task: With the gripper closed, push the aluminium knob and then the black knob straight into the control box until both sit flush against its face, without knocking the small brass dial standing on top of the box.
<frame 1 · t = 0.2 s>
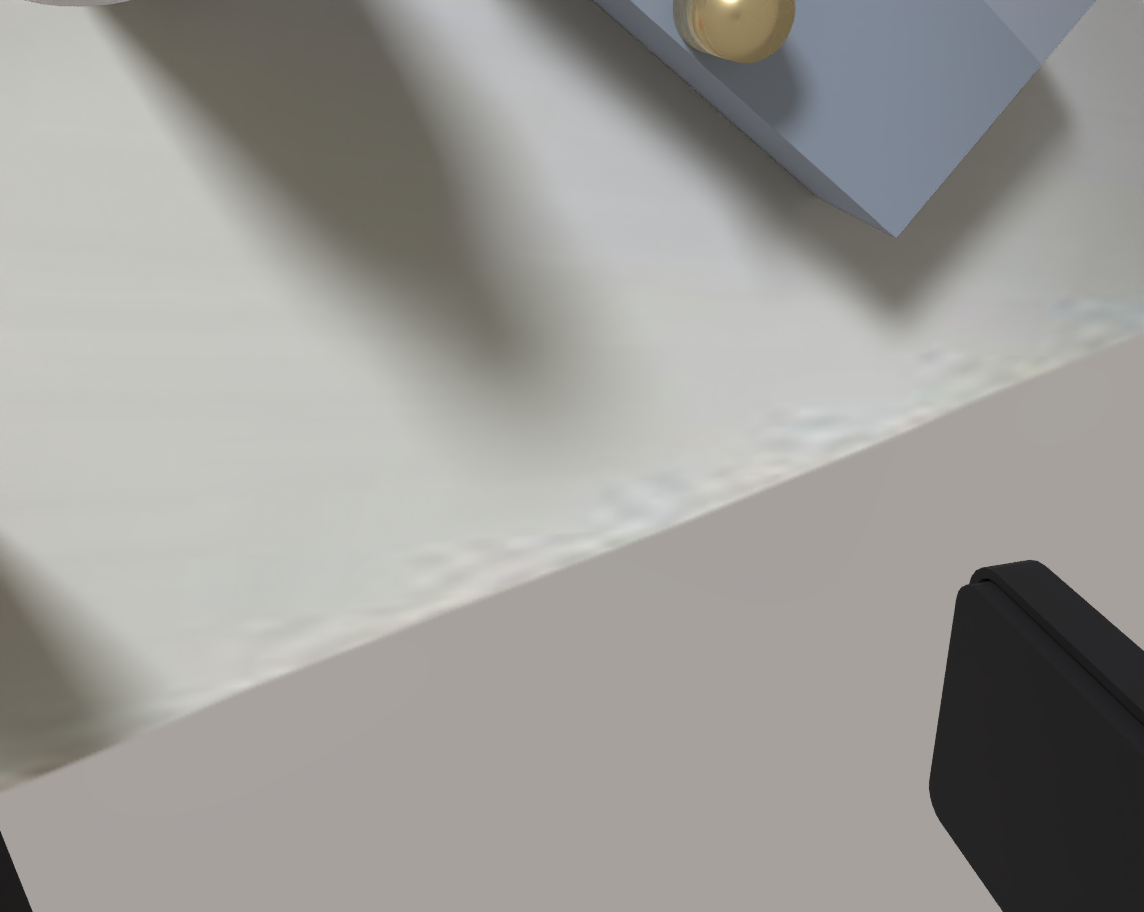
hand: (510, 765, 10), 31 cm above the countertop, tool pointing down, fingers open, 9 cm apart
brass dial: (714, 6, 31), point 6 cm above the countertop, touching control box
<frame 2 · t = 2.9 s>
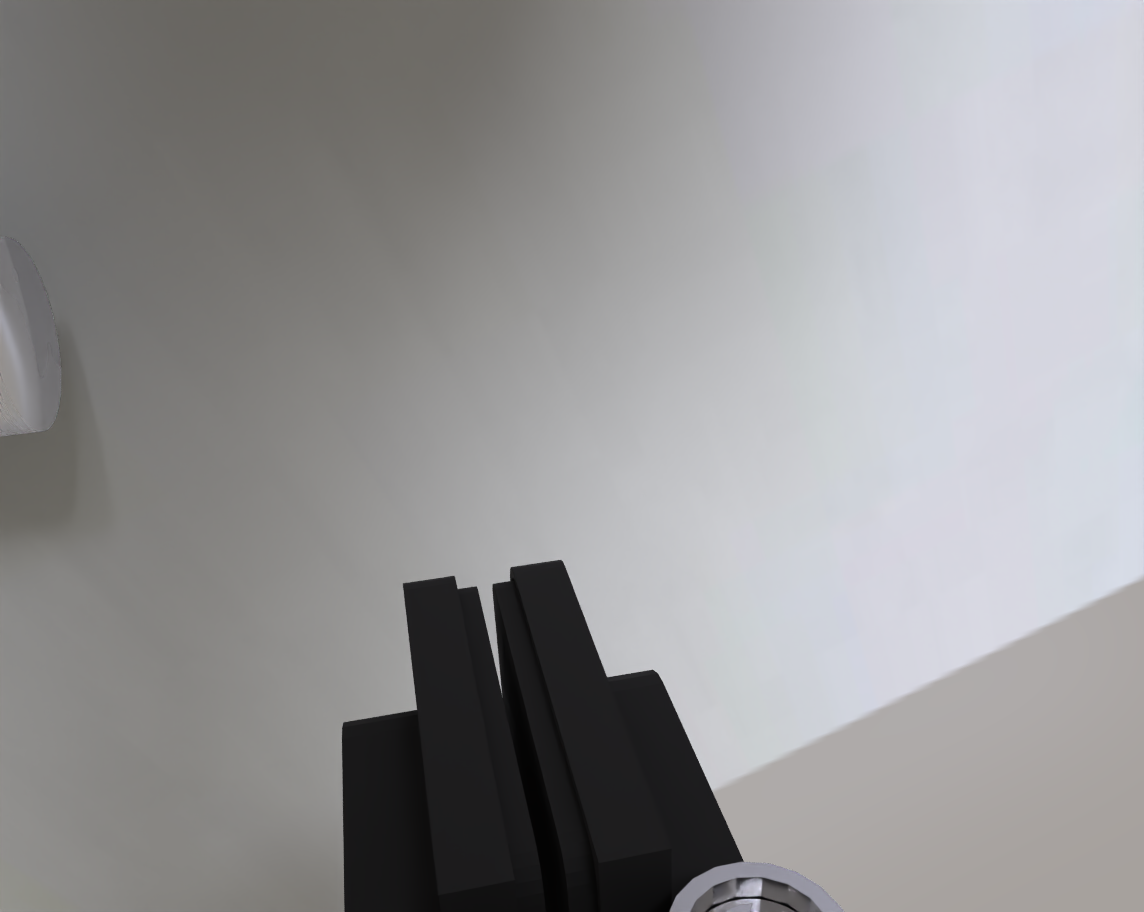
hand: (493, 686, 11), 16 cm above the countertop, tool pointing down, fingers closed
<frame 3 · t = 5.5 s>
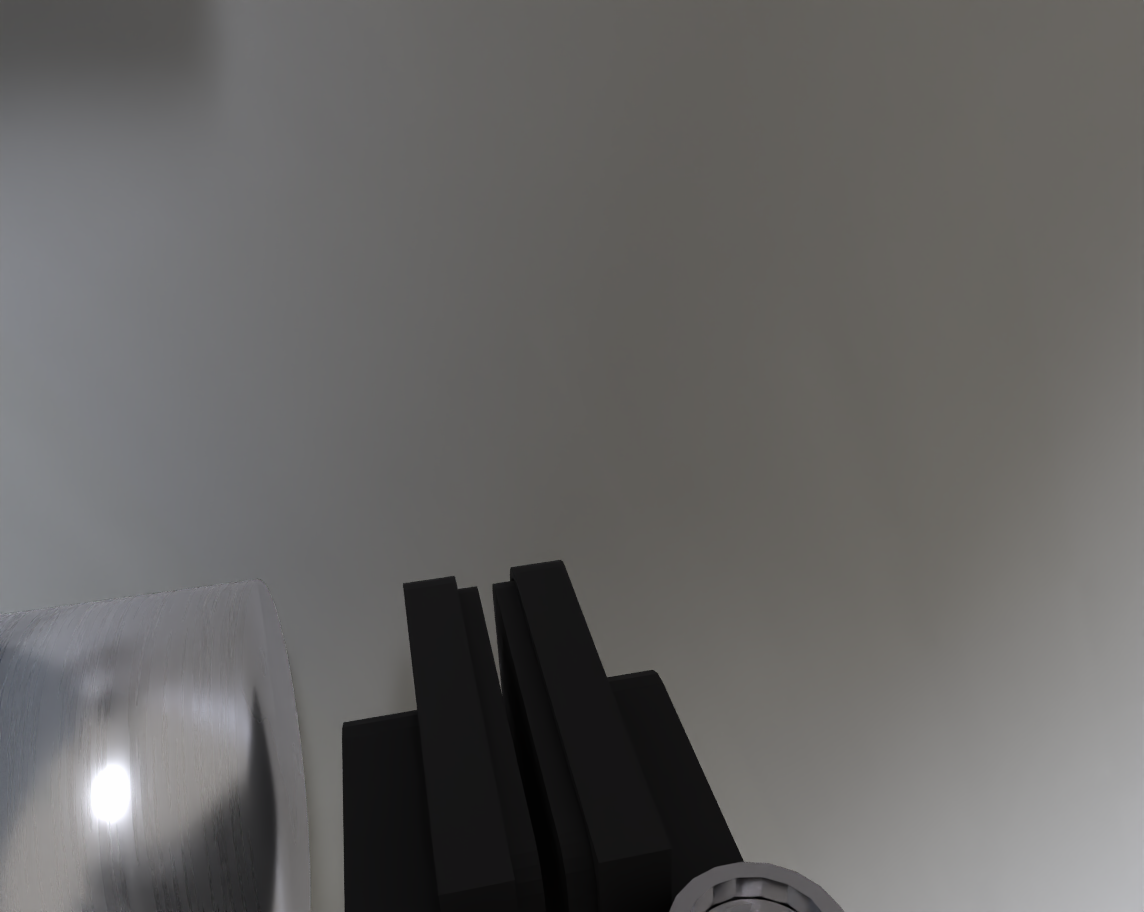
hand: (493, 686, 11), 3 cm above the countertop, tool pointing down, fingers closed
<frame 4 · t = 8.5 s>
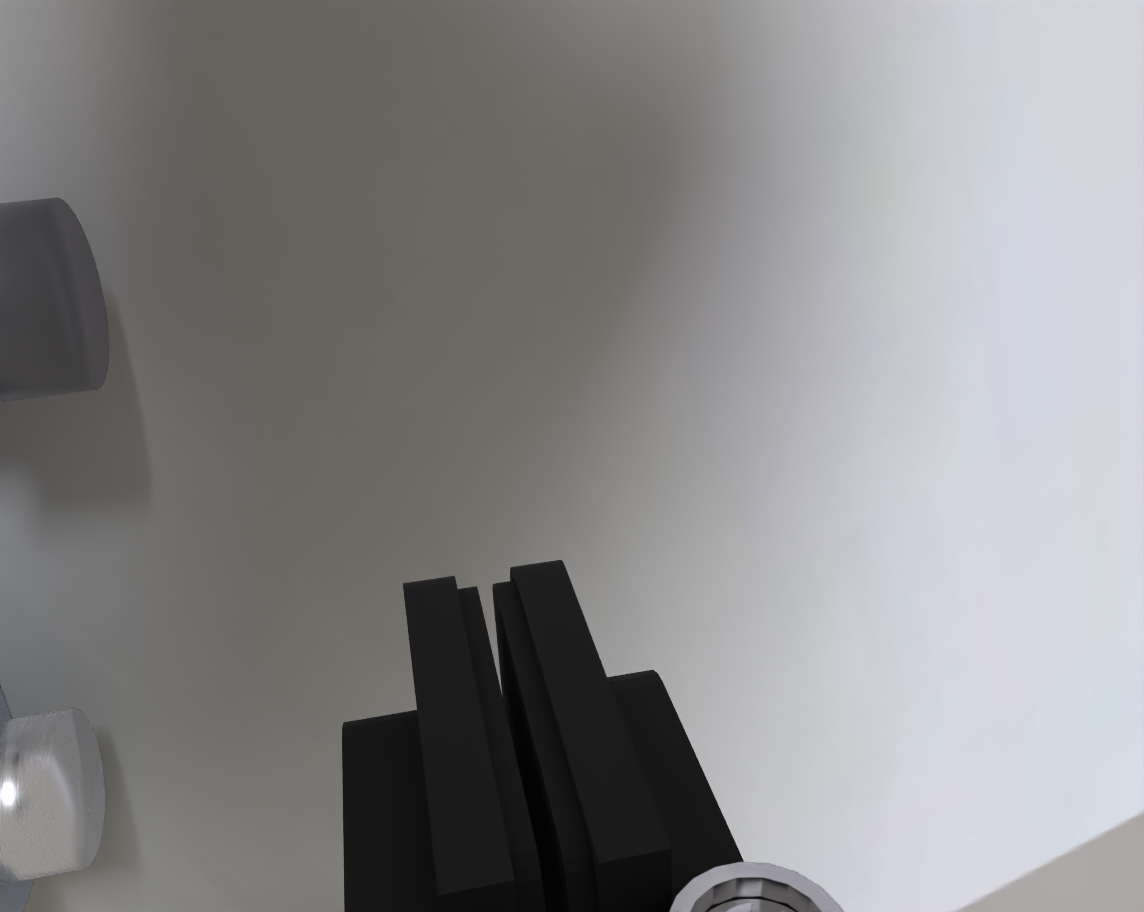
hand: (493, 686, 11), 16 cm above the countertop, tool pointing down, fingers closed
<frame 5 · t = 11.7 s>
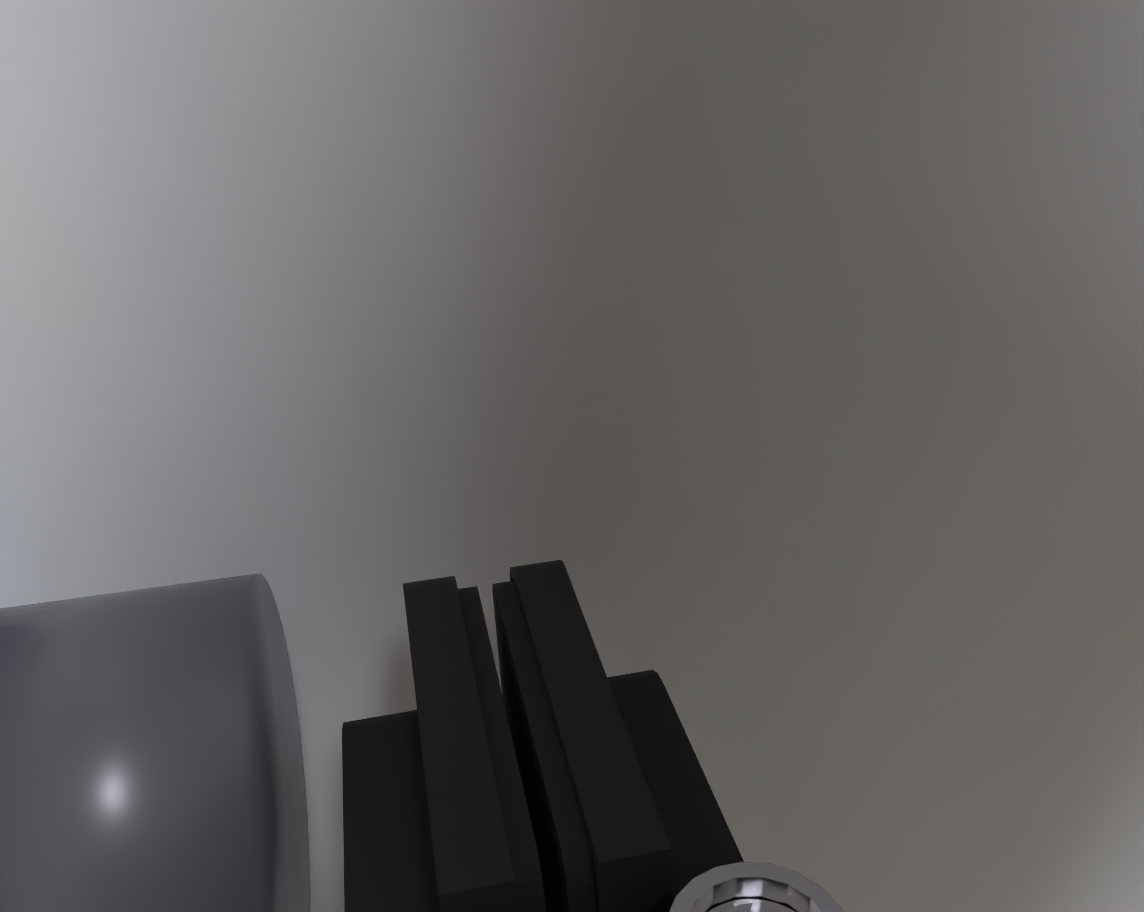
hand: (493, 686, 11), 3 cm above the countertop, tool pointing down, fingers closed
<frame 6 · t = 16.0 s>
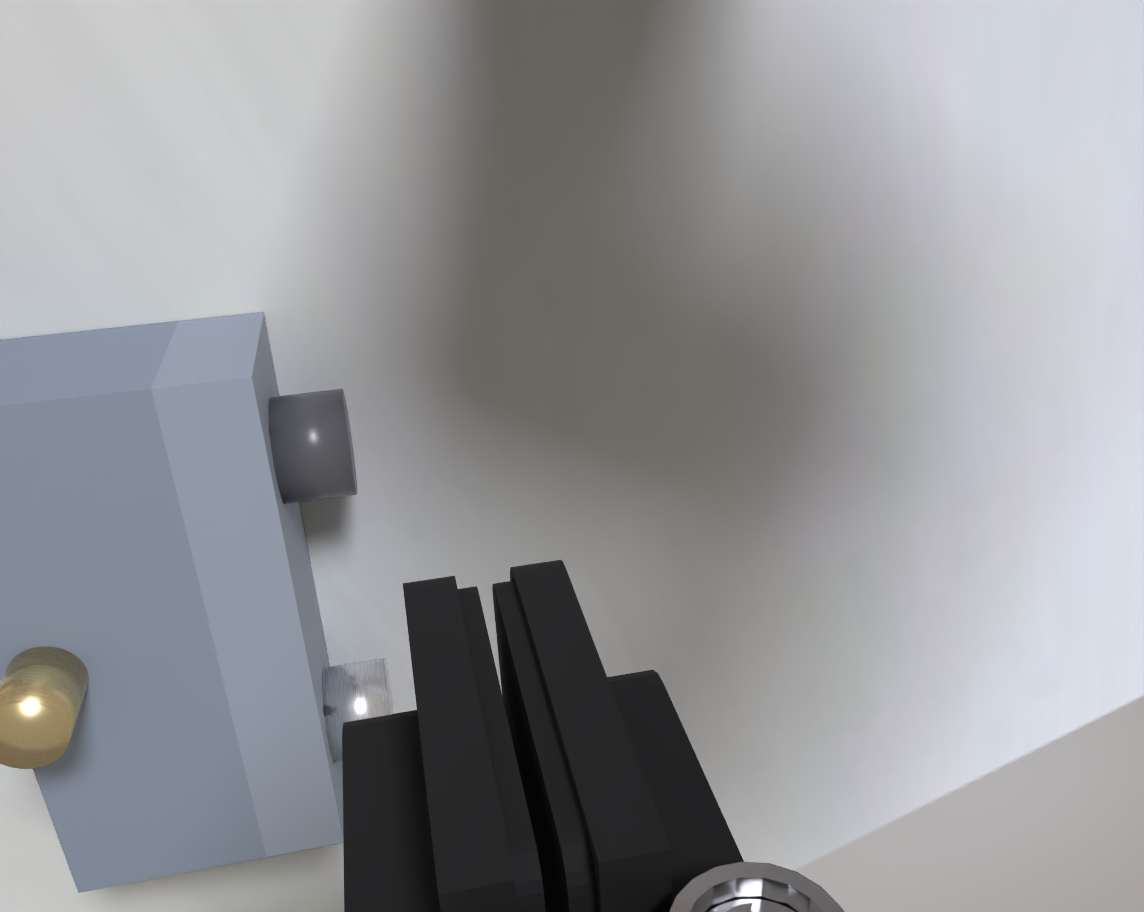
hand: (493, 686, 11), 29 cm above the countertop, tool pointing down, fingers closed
control box: (180, 563, 42), on the countertop
knob black: (212, 459, 36), point 4 cm above the countertop, slide at 3.0 cm, touching control box
knob aluminium: (272, 724, 42), point 3 cm above the countertop, slide at 3.0 cm, touching control box
brass dial: (47, 677, 35), point 6 cm above the countertop, touching control box
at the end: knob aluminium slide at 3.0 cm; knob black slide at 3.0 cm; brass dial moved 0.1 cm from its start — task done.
